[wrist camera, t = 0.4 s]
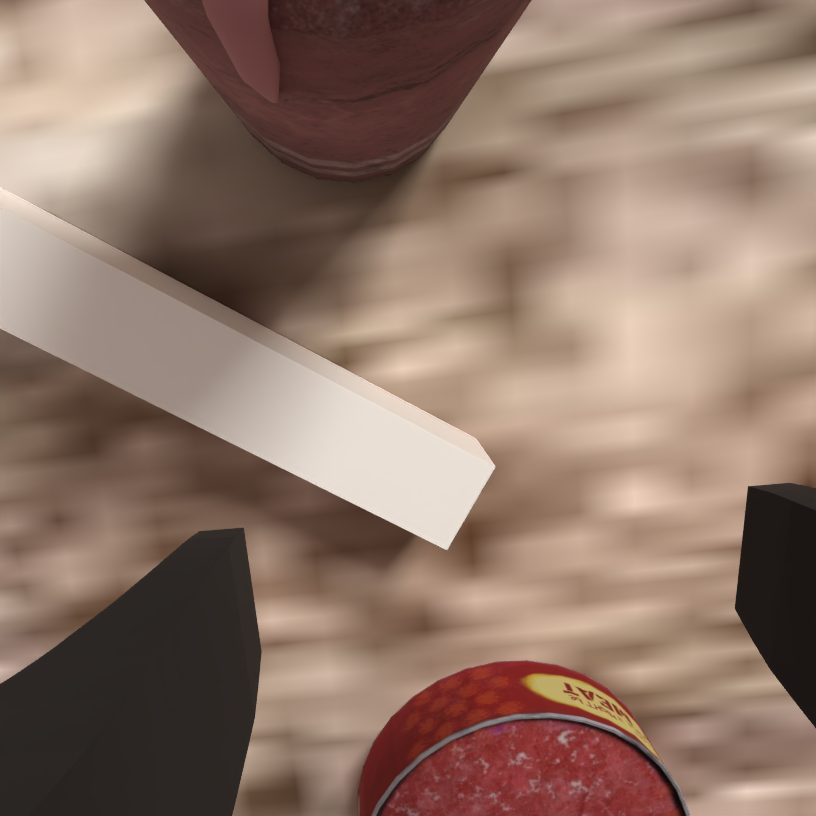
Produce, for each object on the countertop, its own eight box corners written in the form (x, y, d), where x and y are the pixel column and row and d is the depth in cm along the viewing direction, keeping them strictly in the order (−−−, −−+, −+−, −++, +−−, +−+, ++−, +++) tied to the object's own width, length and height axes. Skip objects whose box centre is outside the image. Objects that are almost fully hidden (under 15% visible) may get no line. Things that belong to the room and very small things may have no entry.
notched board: (176, 959, 24) (151, 1057, 21) (-415, 742, 21) (-540, 821, 18) (475, 438, 21) (495, 466, 18) (-157, 104, 18) (-256, 73, 15)
